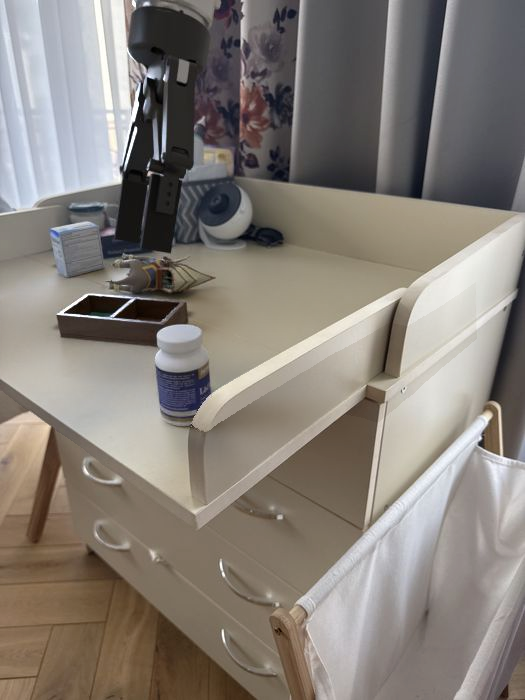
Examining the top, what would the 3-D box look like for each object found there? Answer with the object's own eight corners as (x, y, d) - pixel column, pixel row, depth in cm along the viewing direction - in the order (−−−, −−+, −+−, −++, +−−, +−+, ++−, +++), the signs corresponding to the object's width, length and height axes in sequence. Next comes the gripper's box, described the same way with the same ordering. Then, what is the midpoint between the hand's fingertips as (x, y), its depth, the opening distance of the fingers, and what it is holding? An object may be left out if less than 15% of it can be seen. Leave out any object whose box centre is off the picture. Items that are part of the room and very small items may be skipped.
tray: (166, 347, 75) (163, 324, 74) (60, 336, 79) (55, 314, 77) (188, 322, 83) (186, 301, 81) (91, 313, 86) (87, 293, 85)
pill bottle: (214, 425, 58) (208, 342, 54) (160, 430, 58) (150, 347, 53) (210, 397, 64) (204, 319, 59) (160, 402, 63) (151, 323, 58)
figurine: (148, 240, 104) (230, 248, 99) (150, 271, 107) (230, 280, 102) (85, 266, 87) (180, 277, 82) (89, 302, 89) (182, 315, 84)
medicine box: (94, 263, 109) (87, 220, 105) (105, 268, 106) (98, 224, 102) (57, 272, 104) (48, 228, 100) (67, 278, 101) (58, 232, 97)
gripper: (262, -9, 42) (215, 263, 46) (175, 63, 64) (148, 243, 68) (168, -50, 39) (125, 248, 42) (110, 41, 61) (85, 232, 64)
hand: (139, 245), depth 55 cm, fingers open, 13 cm apart
